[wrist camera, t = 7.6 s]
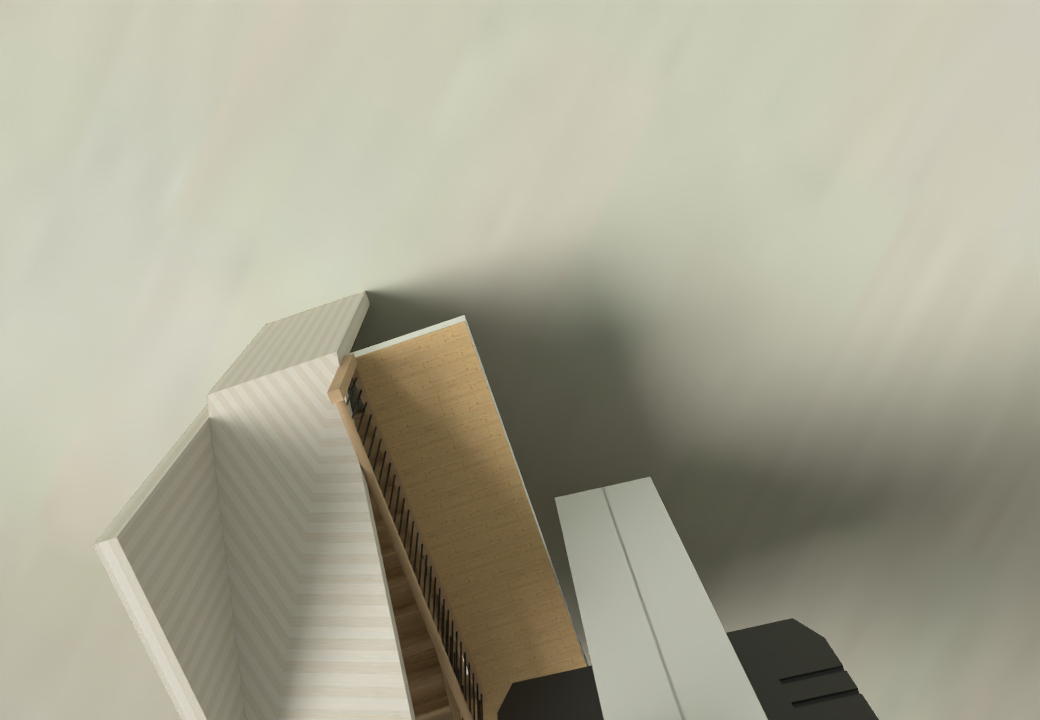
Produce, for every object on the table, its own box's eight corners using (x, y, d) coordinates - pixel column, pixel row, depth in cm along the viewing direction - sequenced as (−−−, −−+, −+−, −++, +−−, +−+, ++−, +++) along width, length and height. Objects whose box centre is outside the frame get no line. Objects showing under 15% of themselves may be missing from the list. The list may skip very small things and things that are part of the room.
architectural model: (458, 255, 15) (458, 398, 8) (585, 617, 17) (675, 991, 10) (257, 323, 15) (82, 523, 8) (405, 676, 17) (367, 1088, 10)
